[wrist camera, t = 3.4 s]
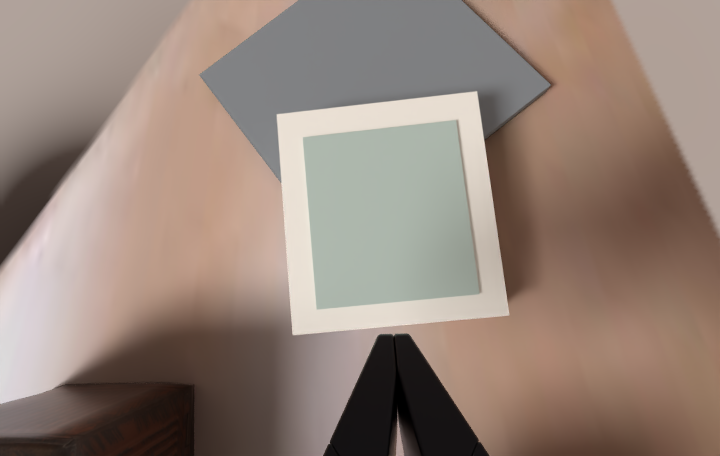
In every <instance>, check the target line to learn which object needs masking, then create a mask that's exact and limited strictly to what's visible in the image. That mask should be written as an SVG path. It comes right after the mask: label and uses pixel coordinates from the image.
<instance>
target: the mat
mask: <svg viewBox="0 0 720 456" xmlns="http://www.w3.org/2000/svg"><path fill="white" fill-rule="evenodd" d="M200 77H201V78H202V79H203V81H204V82H205V83H206V85H207V86H208V87H209V89H210V90H211V91H212V93H213V94H214V95H215V96H216V98H217V99H218V100H219V102H220V103H221V104H222V106H223V107H224V108H225V110H226V111H227V112H228V114H229V115H230V116H231V118H232V119H233V120H234V122H235V123H236V124H237V125H238V127H239V128H240V129H241V131H242V132H243V133H244V135H245V136H246V137H247V139H248V140H249V141H250V143H251V144H252V145H253V147H254V148H255V149H256V151H257V152H258V153H259V154H260V156H261V157H262V158H263V160H264V161H265V162H266V164H267V165H268V166H269V168H270V169H271V170H272V172H273V173H274V174H275V176H276V177H277V178H278V180H279V181H280V182H281V168H280V154H279V141H278V127H277V114H284V113H292V112H301V111H310V110H318V109H327V108H336V107H344V106H353V105H362V104H370V103H379V102H388V101H397V100H405V99H414V98H423V97H431V96H440V95H449V94H457V93H466V92H475V91H477V94H478V101H479V108H480V115H481V122H482V129H483V136H484V140H485V139H486V138H488V137H489V136H490V135H491V134H493V133H494V132H495V131H497V130H498V129H499V128H500V127H502V126H503V125H504V124H505V123H507V122H508V121H509V120H511V119H512V118H513V117H514V116H516V115H517V114H518V113H520V112H521V111H522V110H523V109H525V108H526V107H527V106H528V105H530V104H531V103H532V102H534V101H535V100H536V99H537V98H539V97H540V96H541V95H543V94H544V93H545V92H546V91H547V90H548V88H549V87H550V86H551V84H550V83H548V82H547V81H546V80H545V79H544V78H543V77H542V76H541V75H540V74H539V73H538V72H537V71H536V70H535V69H534V68H533V67H532V66H530V65H529V64H528V63H527V62H526V61H525V60H524V59H523V58H522V57H521V56H520V55H519V54H518V53H517V52H516V51H515V50H514V49H513V48H511V47H510V46H509V45H508V44H507V43H506V42H505V41H504V40H503V39H502V38H501V37H500V36H499V35H498V34H497V33H496V32H495V31H493V30H492V29H491V28H490V27H489V26H488V25H487V24H486V23H485V22H484V21H483V20H482V19H481V18H480V17H479V16H478V15H477V14H475V13H474V12H473V11H472V10H471V9H470V8H469V7H468V6H467V5H466V4H465V3H464V2H463V1H462V0H298V1H297V2H296V3H294V4H293V5H292V6H290V7H289V8H288V9H286V10H285V11H284V12H282V13H281V14H280V15H278V16H277V17H276V18H274V19H273V20H272V21H270V22H269V23H268V24H266V25H265V26H264V27H262V28H261V29H260V30H258V31H257V32H256V33H254V34H253V35H252V36H250V37H249V38H248V39H246V40H245V41H244V42H242V43H241V44H240V45H238V46H237V47H236V48H234V49H233V50H232V51H230V52H229V53H228V54H226V55H225V56H224V57H222V58H221V59H220V60H218V61H217V62H216V63H214V64H213V65H212V66H210V67H209V68H208V69H206V70H205V71H204V72H202V73H201V74H200ZM281 183H282V182H281Z"/></svg>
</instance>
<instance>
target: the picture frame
mask: <svg viewBox="0 0 720 456" xmlns="http://www.w3.org/2000/svg"><path fill="white" fill-rule="evenodd" d="M277 127H278V141H279V154H280V168H281V182H282V196H283V210H284V224H285V237H286V251H287V265H288V279H289V293H290V307H291V320H292V334H293V335H302V334H313V333H324V332H334V331H345V330H356V329H367V328H378V327H389V326H400V325H411V324H422V323H432V322H443V321H454V320H465V319H476V318H487V317H498V316H509V309H508V302H507V295H506V288H505V281H504V274H503V267H502V260H501V254H500V247H499V240H498V233H497V226H496V219H495V212H494V205H493V198H492V191H491V184H490V177H489V171H488V164H487V157H486V150H485V143H484V136H483V129H482V122H481V115H480V108H479V101H478V94H477V91H475V92H466V93H457V94H449V95H440V96H431V97H423V98H414V99H405V100H397V101H388V102H379V103H370V104H362V105H353V106H344V107H336V108H327V109H318V110H310V111H301V112H292V113H284V114H277Z"/></svg>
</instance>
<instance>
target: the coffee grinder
mask: <svg viewBox="0 0 720 456" xmlns="http://www.w3.org/2000/svg"><path fill="white" fill-rule="evenodd" d="M0 456H194V385H189V384H178V383H166V382H161V383H96V384H66V385H63V386H60V387H58V388H55V389H52V390H49V391H46V392H43V393H41V394H37V395H33V396H30V397H26V398H22V399H18V400H14V401H10V402H6V403H3V404H0Z"/></svg>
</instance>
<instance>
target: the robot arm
mask: <svg viewBox="0 0 720 456" xmlns="http://www.w3.org/2000/svg"><path fill="white" fill-rule="evenodd" d="M397 411H398V421H399V427H400V433H401V439H402V444H403V450H404V456H489V454H488V453H487V451H486V450H485V448H484V447H483V445H482V444H481V443H480V442H478V441H479V440H478V438H477V436H476V435H475V433H474V432H473V430H472V429H471V427H470V426H469V424H468V423H467V421H466V420H465V418H464V417H463V415H462V413H461V412H460V410H459V409H458V407H457V406H456V404H455V403H454V401H453V400H452V398H451V397H450V395H449V394H448V392H447V391H446V389H445V388H444V386H443V385H442V383H441V382H440V380H439V379H438V377H437V375H436V374H435V372H434V371H433V369H432V368H431V366H430V365H429V363H428V362H427V360H426V359H425V357H424V356H423V354H422V353H421V351H420V350H419V348H418V347H417V345H416V344H415V342H414V341H413V339H412V337H411V336H410V335H409V334H395V335H394V336H393V335H392V334H380V335H378V337H377V339H376V341H375V343H374V345H373V348H372V350H371V352H370V354H369V356H368V358H367V361H366V363H365V365H364V367H363V369H362V372H361V374H360V376H359V378H358V380H357V383H356V385H355V387H354V389H353V391H352V394H351V396H350V398H349V400H348V402H347V405H346V407H345V409H344V411H343V413H342V416H341V418H340V420H339V422H338V424H337V427H336V429H335V431H334V433H333V435H332V438H331V440H330V444H328V446H327V448H326V450H325V453H324V455H323V456H396V442H397Z"/></svg>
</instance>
